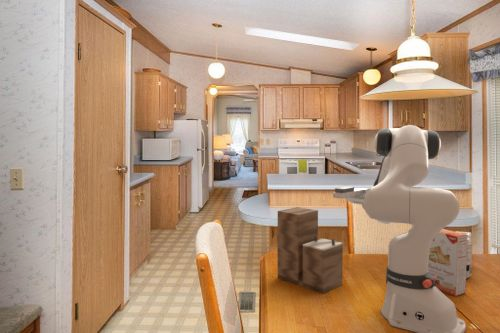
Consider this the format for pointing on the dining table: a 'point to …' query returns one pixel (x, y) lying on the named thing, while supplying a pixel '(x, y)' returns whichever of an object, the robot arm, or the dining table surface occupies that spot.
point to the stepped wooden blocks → (307, 252)
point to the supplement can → (468, 258)
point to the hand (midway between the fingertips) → (359, 190)
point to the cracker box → (449, 261)
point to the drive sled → (347, 192)
